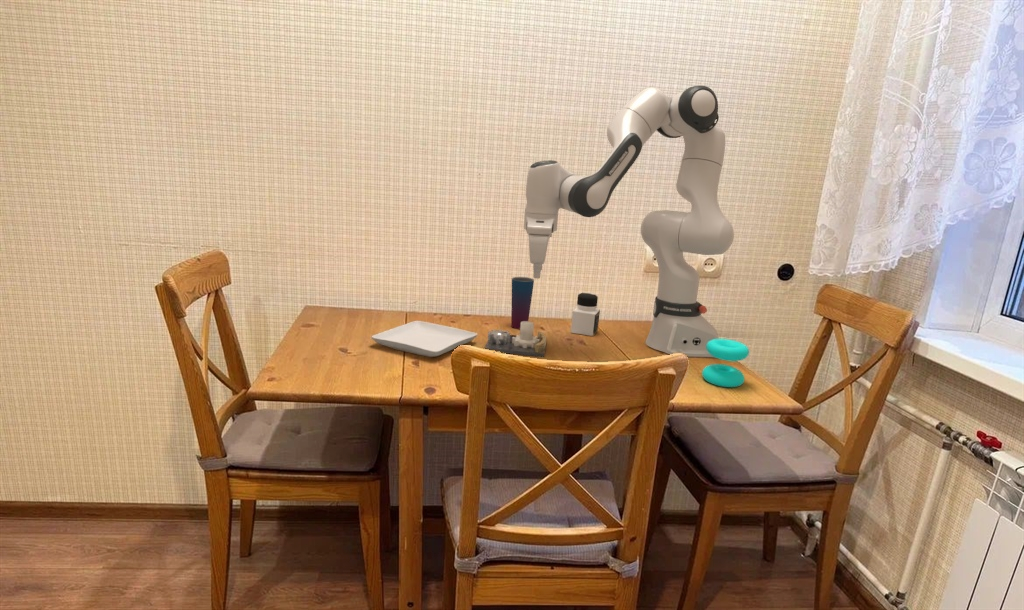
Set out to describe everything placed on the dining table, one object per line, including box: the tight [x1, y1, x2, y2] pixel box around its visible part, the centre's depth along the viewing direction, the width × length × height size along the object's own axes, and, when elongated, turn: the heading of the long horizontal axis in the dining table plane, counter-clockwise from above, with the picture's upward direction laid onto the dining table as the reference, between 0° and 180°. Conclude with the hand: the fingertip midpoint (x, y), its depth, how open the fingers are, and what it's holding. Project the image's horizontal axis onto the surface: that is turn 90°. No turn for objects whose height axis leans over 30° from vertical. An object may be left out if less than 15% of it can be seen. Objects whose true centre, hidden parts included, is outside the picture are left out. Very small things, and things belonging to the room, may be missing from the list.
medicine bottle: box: [570, 292, 601, 337], centre depth 184 cm, size 7×7×12 cm
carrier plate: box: [484, 329, 547, 358], centre depth 166 cm, size 16×14×4 cm
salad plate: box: [371, 320, 479, 358], centre depth 163 cm, size 21×21×3 cm
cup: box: [510, 276, 535, 330], centre depth 184 cm, size 7×7×15 cm
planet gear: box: [512, 320, 540, 348], centre depth 166 cm, size 8×8×6 cm
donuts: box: [701, 338, 750, 388], centre depth 150 cm, size 10×10×10 cm
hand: (537, 274), depth 164 cm, fingers open, 8 cm apart
